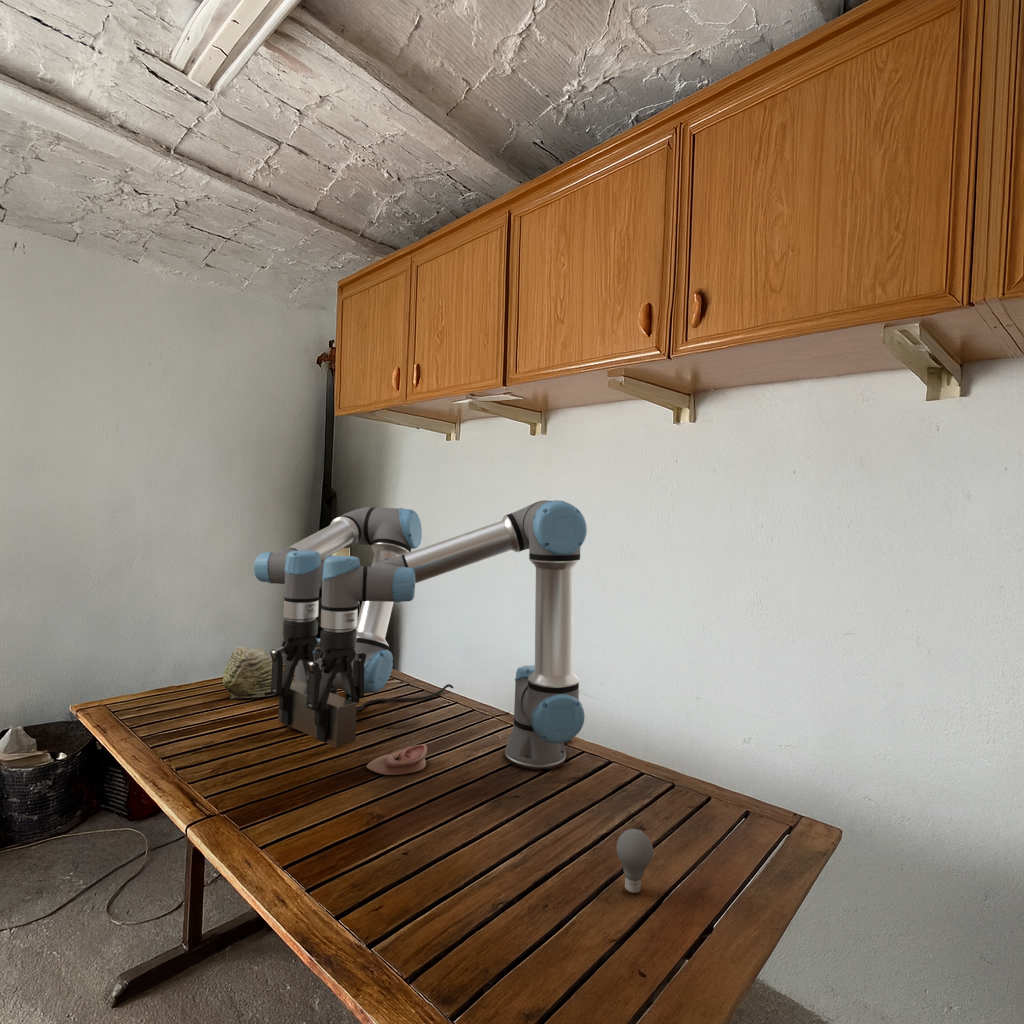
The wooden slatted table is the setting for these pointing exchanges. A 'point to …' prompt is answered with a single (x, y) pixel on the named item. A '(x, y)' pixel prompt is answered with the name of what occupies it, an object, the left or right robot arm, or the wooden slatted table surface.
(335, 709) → the bar
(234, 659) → the fossil
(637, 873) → the light bulb
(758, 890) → the wooden slatted table surface
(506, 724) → the wooden slatted table surface
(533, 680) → the right robot arm
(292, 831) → the wooden slatted table surface
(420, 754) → the anatomical model
